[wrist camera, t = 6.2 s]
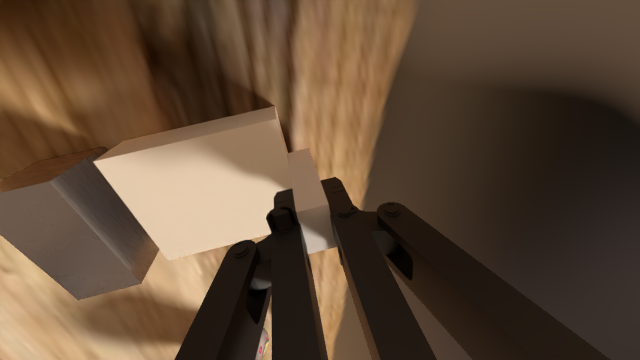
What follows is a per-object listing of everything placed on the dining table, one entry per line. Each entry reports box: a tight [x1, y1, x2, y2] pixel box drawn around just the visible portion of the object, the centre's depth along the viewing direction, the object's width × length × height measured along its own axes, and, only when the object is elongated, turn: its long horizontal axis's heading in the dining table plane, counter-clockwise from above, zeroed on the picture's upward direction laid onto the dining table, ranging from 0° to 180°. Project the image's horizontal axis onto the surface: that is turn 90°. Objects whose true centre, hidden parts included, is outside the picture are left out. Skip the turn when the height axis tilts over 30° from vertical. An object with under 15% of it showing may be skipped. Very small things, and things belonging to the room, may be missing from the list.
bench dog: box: [0, 147, 159, 300], centre depth 16 cm, size 4×8×4 cm, turn 10°
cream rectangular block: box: [93, 106, 292, 261], centre depth 17 cm, size 10×8×4 cm
